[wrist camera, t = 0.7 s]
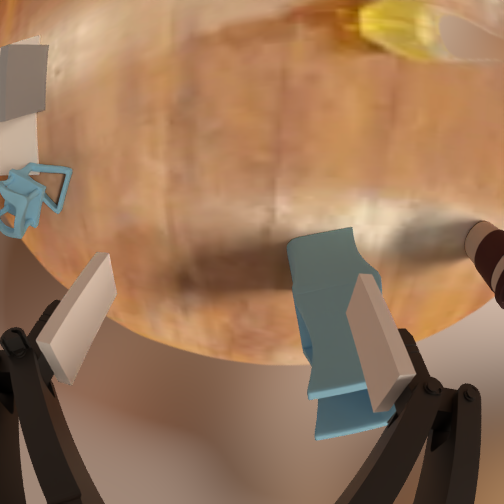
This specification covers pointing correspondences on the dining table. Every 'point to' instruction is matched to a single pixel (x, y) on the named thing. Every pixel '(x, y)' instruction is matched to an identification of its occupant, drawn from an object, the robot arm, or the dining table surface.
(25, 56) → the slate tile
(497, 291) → the coffee cup
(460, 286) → the dining table surface
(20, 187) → the chair
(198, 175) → the dining table surface
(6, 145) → the mat
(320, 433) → the blue wavy holder
